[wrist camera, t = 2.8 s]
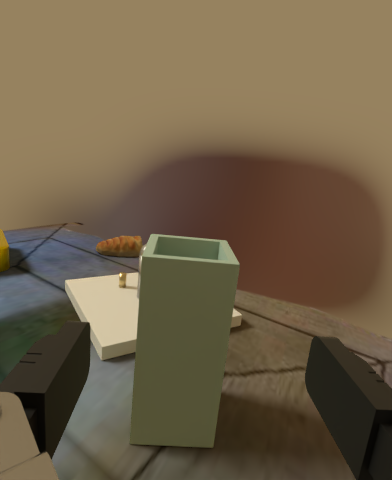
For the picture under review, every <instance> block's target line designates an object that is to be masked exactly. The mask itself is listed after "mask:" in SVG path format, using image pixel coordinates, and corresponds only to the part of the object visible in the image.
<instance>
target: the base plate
mask: <svg viewBox="0 0 392 480" xmlns="http://www.w3.org/2000/svg"><path fill="white" fill-rule="evenodd" d="M146 245H147V244H145V245H144V246H143V247H142V248H141V250H140V255H139V271H138V273H129V274H127V273H124V272H121V273H119V275H111V276H101V277H92V278H82V279H73V280H65V291H66V292H67V294H68V296H69V298H70V300H71V302H72V304H73V306H74V308H75V310H76V312H77V314H78V316H79V318H80V320H81V322H89V323H90V328H91V332H90V339H91V341H92V343H93V345H94V347H95V349H96V351H97V353H98V355H99V357H100V359H101V361H102V360H105V359H109V358H113V357H117V356H121V355H125V354H129V353H133V352H136V339H137V324H138V308H139V293H140V278H141V263H142V255H143V253H144V250H145V248H146ZM241 319H242V314H240V313H239V312H237V311H236V310H234V309H233V315H232V322H231V328H232V327H236V326H240V325H241Z"/></svg>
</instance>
